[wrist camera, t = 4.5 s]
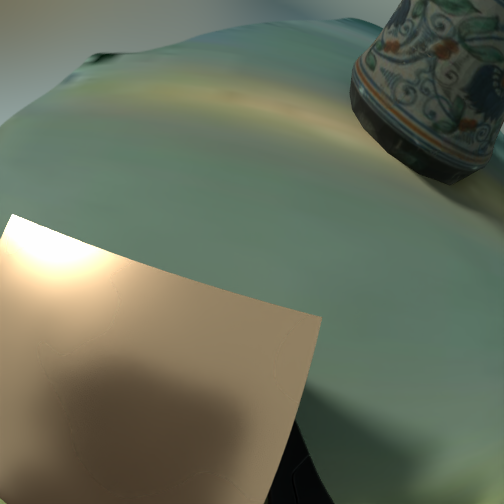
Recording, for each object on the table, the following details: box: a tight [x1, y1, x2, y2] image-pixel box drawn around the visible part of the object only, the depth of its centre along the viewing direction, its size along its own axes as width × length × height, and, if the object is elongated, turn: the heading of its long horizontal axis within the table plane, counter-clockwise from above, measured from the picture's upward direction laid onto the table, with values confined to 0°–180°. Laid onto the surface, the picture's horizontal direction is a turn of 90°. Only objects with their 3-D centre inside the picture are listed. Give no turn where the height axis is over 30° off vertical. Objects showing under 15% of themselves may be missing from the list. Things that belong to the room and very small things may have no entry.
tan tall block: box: [0, 214, 322, 504], centre depth 8 cm, size 5×5×13 cm
